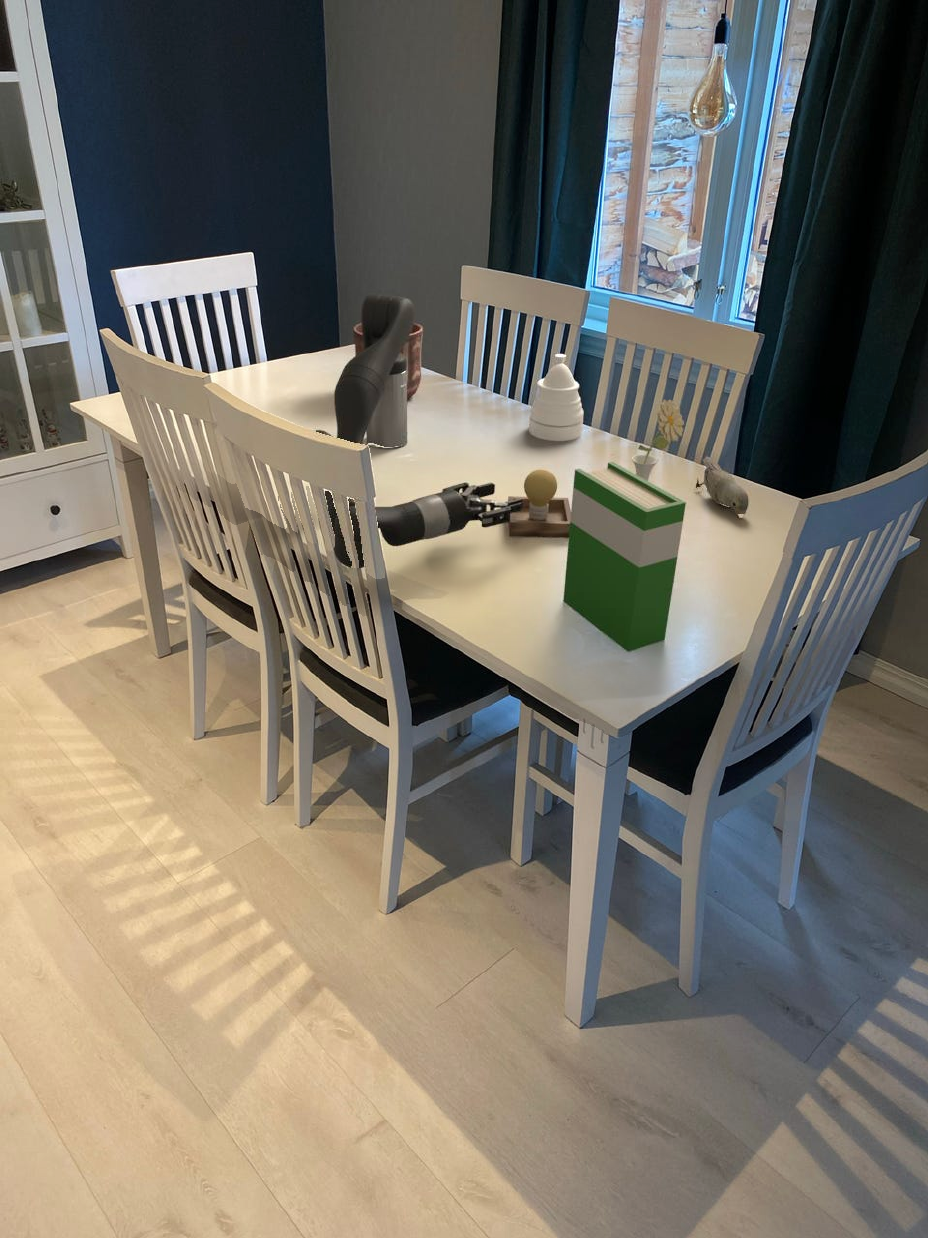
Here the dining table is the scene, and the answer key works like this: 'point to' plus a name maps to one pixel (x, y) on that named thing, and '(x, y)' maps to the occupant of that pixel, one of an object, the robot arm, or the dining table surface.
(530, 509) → the light bulb
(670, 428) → the flower in vase
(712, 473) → the decorative bird
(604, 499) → the hardback book
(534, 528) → the walnut tray
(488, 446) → the dining table surface
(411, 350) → the pottery
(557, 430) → the honey pot
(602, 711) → the dining table surface
